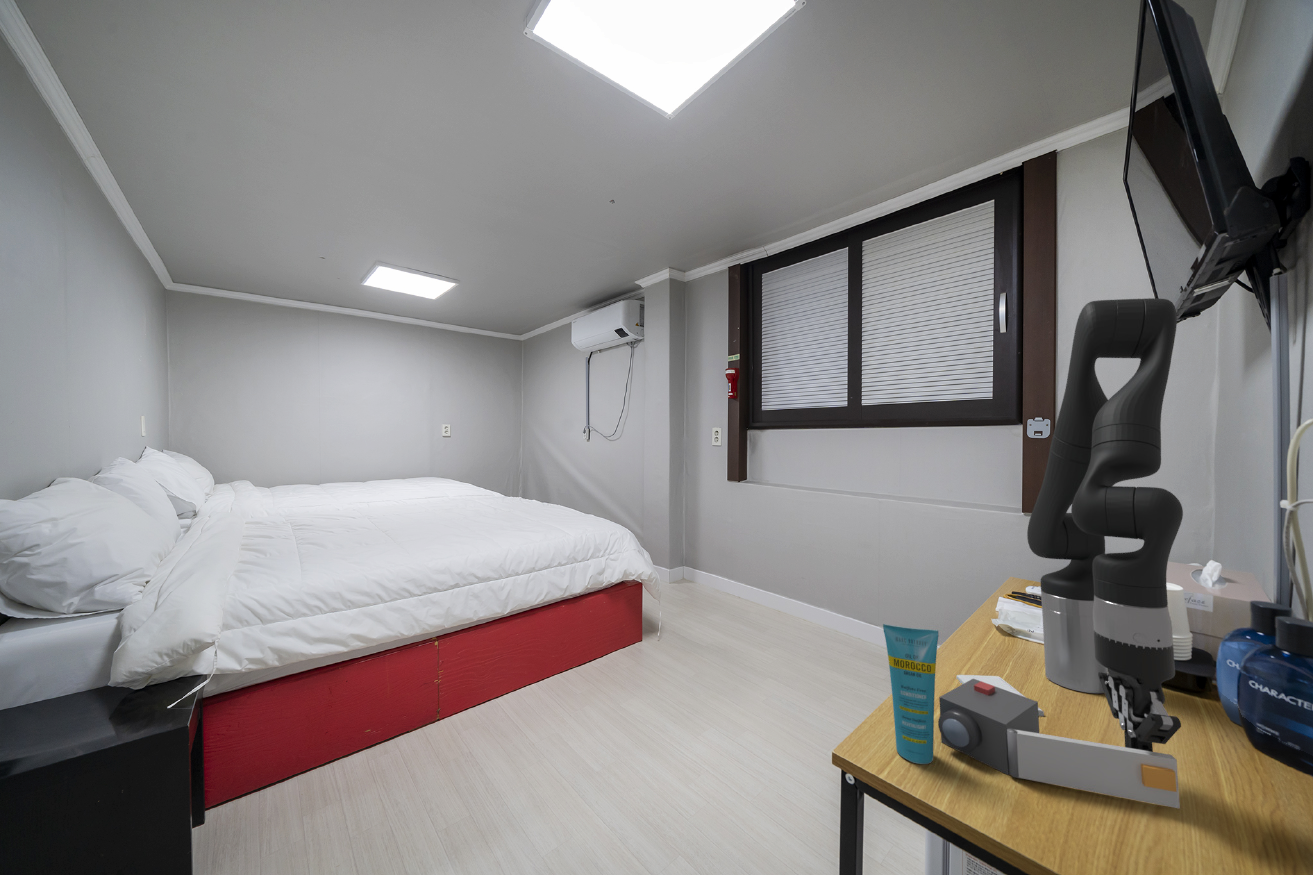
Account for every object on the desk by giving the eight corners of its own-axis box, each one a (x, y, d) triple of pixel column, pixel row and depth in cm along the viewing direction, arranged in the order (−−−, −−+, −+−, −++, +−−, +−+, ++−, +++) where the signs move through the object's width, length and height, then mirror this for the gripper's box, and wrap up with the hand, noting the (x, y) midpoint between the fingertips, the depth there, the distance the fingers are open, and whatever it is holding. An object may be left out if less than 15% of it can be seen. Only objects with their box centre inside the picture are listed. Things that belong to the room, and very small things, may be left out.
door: (1173, 802, 59) (1170, 754, 59) (1183, 811, 57) (1179, 762, 57) (1007, 770, 65) (1005, 727, 65) (1012, 778, 64) (1009, 734, 64)
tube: (889, 758, 69) (884, 629, 70) (886, 740, 73) (881, 618, 74) (947, 770, 66) (941, 635, 67) (940, 750, 71) (934, 623, 72)
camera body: (975, 720, 78) (973, 673, 79) (1040, 748, 71) (1037, 696, 71) (933, 747, 71) (931, 696, 72) (1000, 781, 64) (997, 723, 64)
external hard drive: (1000, 684, 92) (1044, 719, 79) (956, 682, 93) (993, 716, 80) (1000, 675, 92) (1043, 709, 79) (956, 674, 93) (992, 707, 80)
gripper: (1207, 657, 55) (1217, 806, 54) (1135, 618, 67) (1142, 739, 67) (1127, 650, 57) (1135, 792, 57) (1071, 614, 70) (1078, 730, 69)
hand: (1139, 763), depth 62 cm, fingers closed
